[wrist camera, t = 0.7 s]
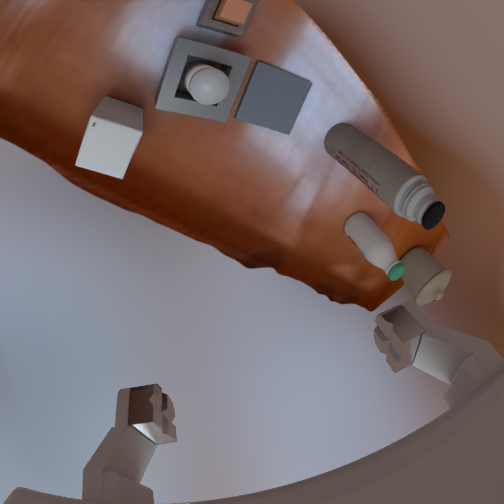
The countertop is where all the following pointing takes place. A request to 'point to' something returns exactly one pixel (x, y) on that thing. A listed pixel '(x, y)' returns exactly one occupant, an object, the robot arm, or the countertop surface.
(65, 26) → the countertop surface
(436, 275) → the canister
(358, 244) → the milk bottle
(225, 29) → the frame
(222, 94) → the cylinder
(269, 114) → the mat
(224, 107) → the housing
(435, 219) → the thermos bottle
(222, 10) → the plunger
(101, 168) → the supplement box
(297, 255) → the countertop surface
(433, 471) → the robot arm
